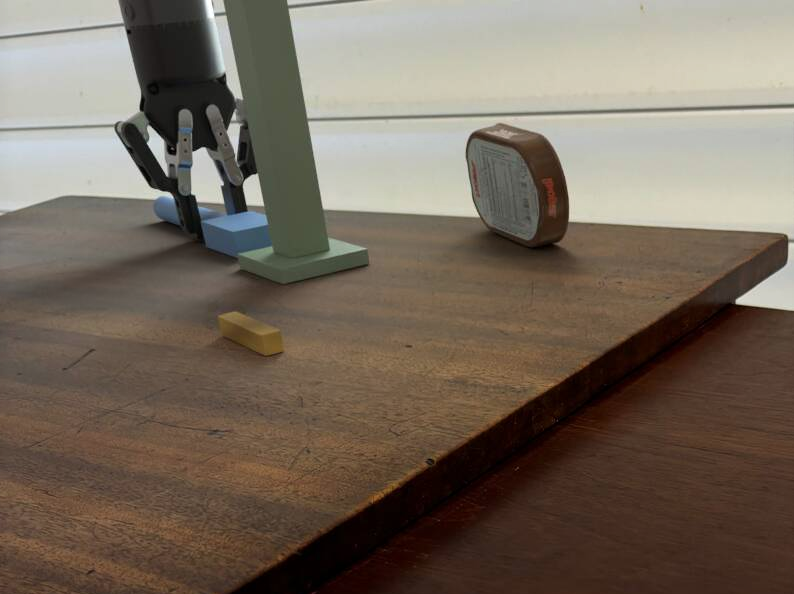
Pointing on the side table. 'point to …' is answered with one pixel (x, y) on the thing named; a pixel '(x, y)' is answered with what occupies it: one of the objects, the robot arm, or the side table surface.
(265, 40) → the stand
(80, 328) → the side table surface
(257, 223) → the blue toy mallet
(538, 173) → the tin
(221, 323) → the fry
